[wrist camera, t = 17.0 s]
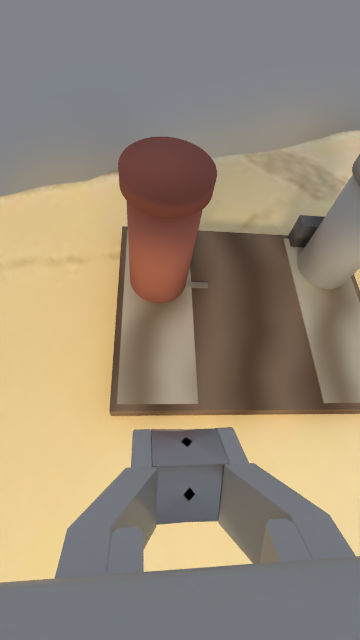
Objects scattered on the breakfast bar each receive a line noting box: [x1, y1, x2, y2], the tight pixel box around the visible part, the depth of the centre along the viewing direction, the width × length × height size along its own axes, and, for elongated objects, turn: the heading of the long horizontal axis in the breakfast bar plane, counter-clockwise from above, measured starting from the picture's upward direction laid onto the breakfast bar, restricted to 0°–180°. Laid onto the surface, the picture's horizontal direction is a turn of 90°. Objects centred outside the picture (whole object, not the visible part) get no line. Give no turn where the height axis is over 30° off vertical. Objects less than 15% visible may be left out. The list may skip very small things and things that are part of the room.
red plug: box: [118, 137, 217, 303], centre depth 24 cm, size 6×6×11 cm
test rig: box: [110, 215, 360, 416], centre depth 28 cm, size 23×18×4 cm
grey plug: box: [298, 154, 360, 289], centre depth 27 cm, size 6×6×11 cm
